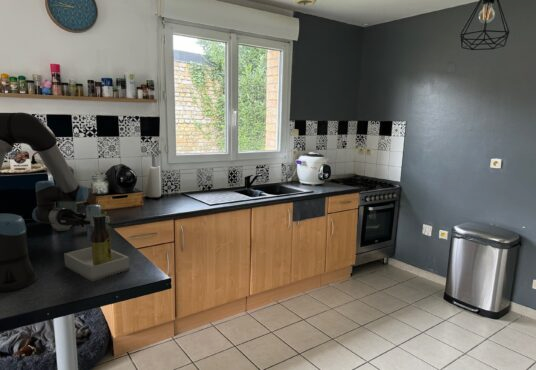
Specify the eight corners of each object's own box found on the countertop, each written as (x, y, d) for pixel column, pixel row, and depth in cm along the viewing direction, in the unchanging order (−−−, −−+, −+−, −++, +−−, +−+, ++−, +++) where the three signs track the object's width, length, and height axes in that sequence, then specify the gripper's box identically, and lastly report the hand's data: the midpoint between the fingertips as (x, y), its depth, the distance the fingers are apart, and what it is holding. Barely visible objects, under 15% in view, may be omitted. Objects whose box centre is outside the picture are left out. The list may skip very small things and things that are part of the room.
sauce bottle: (113, 270, 137) (110, 216, 134) (94, 273, 133) (90, 218, 130) (110, 264, 142) (107, 212, 139) (92, 267, 139) (88, 215, 136)
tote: (129, 270, 139) (128, 257, 139) (91, 281, 129) (90, 267, 128) (101, 256, 154) (100, 244, 153) (65, 266, 143) (64, 253, 142)
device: (59, 220, 212) (54, 167, 207) (74, 218, 216) (70, 166, 211) (61, 226, 198) (56, 170, 193) (77, 224, 202) (73, 169, 197)
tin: (97, 241, 162) (94, 207, 160) (84, 240, 163) (82, 206, 161) (105, 237, 167) (103, 204, 165) (93, 237, 169) (91, 204, 166)
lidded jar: (70, 225, 200) (69, 208, 199) (77, 229, 193) (76, 211, 191) (47, 229, 193) (46, 211, 192) (54, 233, 185) (52, 215, 184)
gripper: (80, 220, 179) (119, 224, 171) (44, 230, 162) (86, 235, 154) (79, 204, 178) (118, 208, 170) (43, 212, 161) (85, 217, 153)
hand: (103, 221), depth 162 cm, fingers closed on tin, 6 cm apart
